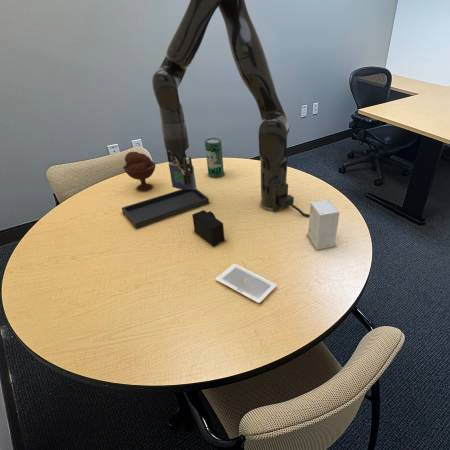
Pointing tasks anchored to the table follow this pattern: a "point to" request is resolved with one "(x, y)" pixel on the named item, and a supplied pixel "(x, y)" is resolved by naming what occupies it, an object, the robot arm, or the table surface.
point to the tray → (164, 207)
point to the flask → (181, 177)
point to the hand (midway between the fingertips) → (182, 179)
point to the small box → (323, 224)
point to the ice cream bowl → (139, 168)
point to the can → (214, 157)
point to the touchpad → (246, 282)
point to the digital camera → (208, 227)
